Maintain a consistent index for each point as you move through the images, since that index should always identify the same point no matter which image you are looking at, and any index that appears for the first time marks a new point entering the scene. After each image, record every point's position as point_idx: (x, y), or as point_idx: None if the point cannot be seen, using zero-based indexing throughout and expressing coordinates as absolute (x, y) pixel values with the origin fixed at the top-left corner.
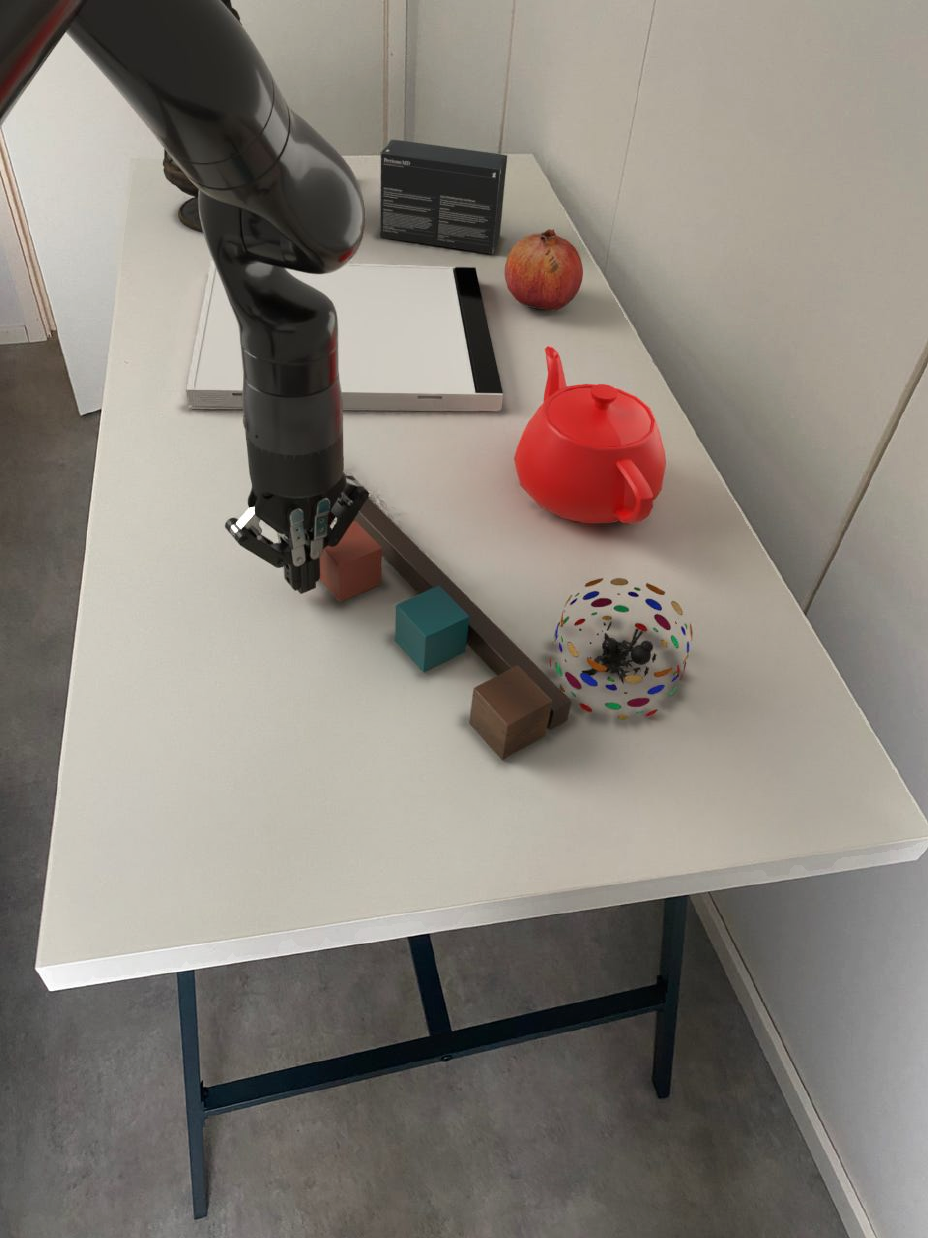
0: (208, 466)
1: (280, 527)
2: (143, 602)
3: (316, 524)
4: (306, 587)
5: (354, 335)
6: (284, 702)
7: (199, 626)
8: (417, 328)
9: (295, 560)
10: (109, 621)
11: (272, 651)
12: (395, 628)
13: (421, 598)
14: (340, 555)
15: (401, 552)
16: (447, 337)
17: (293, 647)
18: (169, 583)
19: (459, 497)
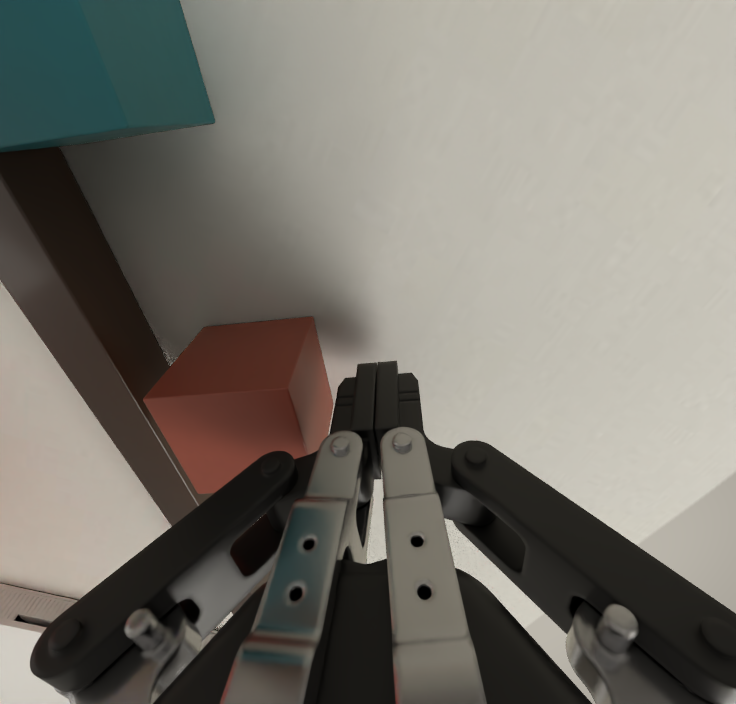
0: None
1: (501, 632)
2: (649, 457)
3: (324, 583)
4: (383, 369)
5: None
6: (629, 16)
7: (611, 373)
8: (47, 690)
9: (418, 447)
10: (730, 443)
11: (530, 240)
12: (190, 120)
13: (4, 109)
14: (270, 418)
15: (114, 377)
16: (2, 676)
17: (478, 229)
18: (581, 474)
19: (4, 459)
